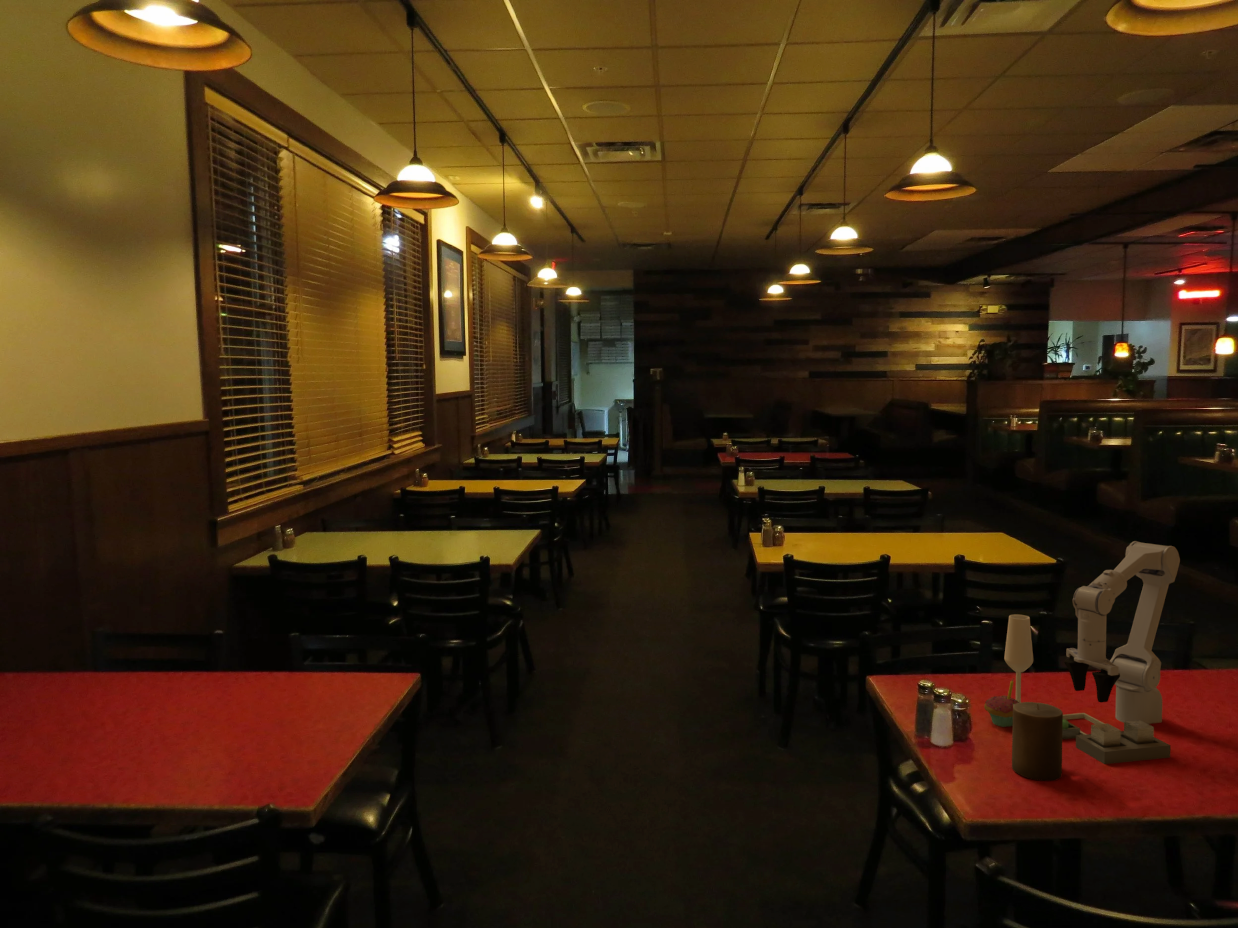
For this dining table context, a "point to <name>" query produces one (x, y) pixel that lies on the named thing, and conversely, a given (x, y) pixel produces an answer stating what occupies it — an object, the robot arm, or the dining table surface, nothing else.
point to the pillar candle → (1037, 741)
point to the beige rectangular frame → (1082, 715)
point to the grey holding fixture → (1123, 750)
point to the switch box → (1070, 731)
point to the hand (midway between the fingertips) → (1090, 695)
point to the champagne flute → (1019, 647)
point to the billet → (1105, 735)
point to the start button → (1065, 724)
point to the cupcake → (1001, 708)
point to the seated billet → (1138, 732)
